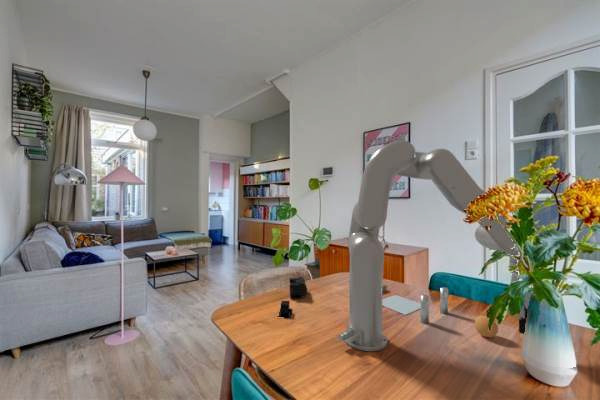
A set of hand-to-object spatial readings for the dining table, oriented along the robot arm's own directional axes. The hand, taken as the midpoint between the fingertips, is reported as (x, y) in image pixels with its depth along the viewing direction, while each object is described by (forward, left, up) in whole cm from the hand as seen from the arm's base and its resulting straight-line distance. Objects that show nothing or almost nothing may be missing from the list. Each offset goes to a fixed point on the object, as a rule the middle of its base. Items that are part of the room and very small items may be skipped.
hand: (527, 333), depth 76 cm
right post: (+6, +26, -5) cm, 27 cm away
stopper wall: (0, +54, -5) cm, 54 cm away
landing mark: (0, +40, -5) cm, 40 cm away
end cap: (-27, +72, -5) cm, 77 cm away
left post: (-7, +26, -5) cm, 27 cm away
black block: (-42, +59, -6) cm, 73 cm away
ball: (0, +10, -2) cm, 10 cm away
